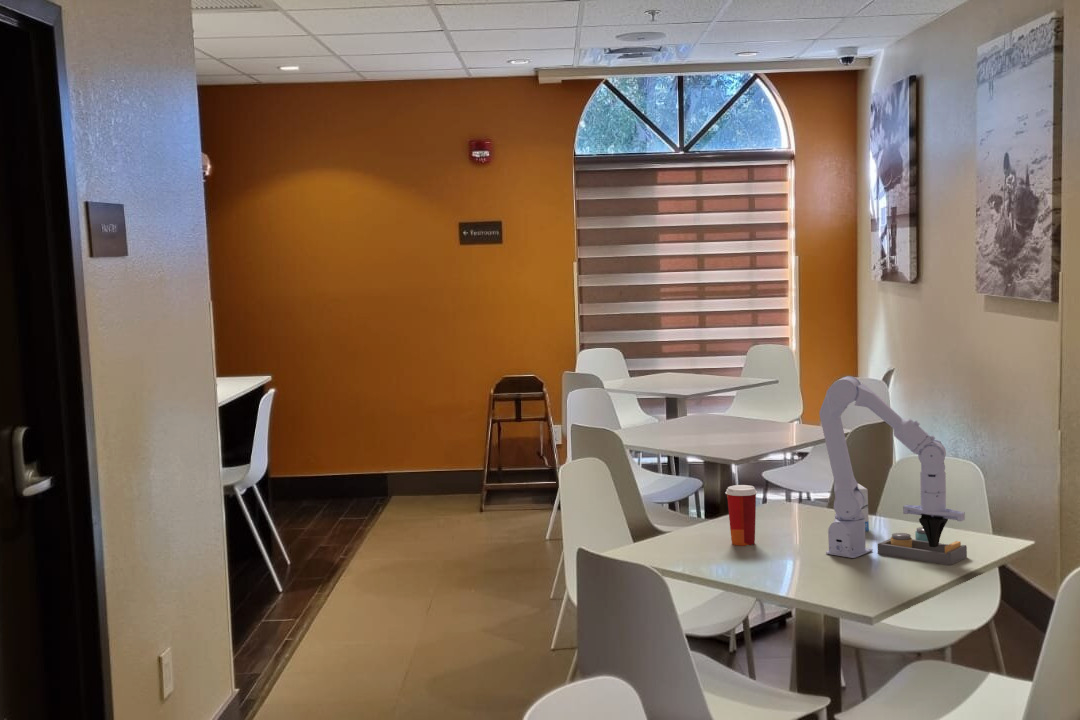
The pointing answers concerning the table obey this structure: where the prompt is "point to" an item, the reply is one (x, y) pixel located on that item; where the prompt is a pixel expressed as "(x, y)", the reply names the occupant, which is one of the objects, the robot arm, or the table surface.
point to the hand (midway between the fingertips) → (933, 546)
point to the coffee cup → (742, 514)
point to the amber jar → (901, 540)
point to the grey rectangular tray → (924, 552)
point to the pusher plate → (952, 546)
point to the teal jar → (920, 534)
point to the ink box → (865, 506)
